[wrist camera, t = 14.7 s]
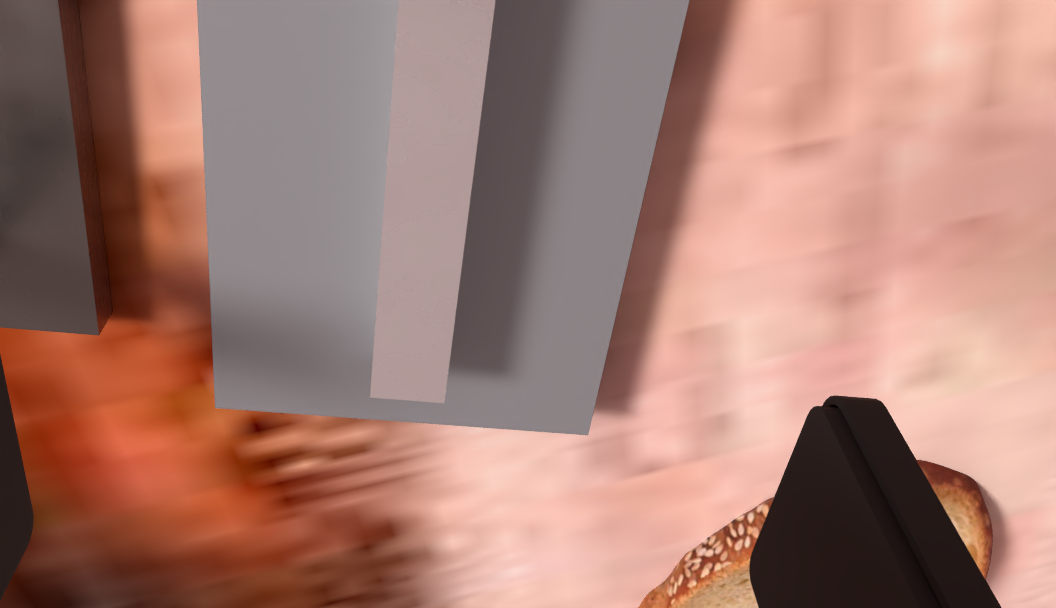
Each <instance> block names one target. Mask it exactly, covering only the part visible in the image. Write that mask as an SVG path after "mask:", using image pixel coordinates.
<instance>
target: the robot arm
mask: <svg viewBox="0 0 1056 608" xmlns="http://www.w3.org/2000/svg"><path fill="white" fill-rule="evenodd" d="M32 529H33V510H32V505H31V500H30V495H29V490H28V486H27V481H26V476H25V471H24V466H23V462H22V457H21V452H20V447H19V442H18V438H17V433H16V428H15V423H14V418H13V414H12V409H11V404H10V399H9V394H8V390H7V385H6V380H5V375H4V371H3V366H2V361H1V356H0V600H1V598H2V596H3V594H4V592H5V590H6V588H7V586H8V584H9V582H10V580H11V578H12V576H13V574H14V572H15V570H16V568H17V566H18V564H19V562H20V560H21V558H22V556H23V554H24V552H25V550H26V548H27V546H28V543H29V541H30V538H31V534H32ZM749 573H750V581H751V585H752V588H753V592H754V595H755V598H756V601H757V604H758V607H759V608H1001V606H1000V604H999V603H998V601H997V599H996V597H995V596H994V594H993V592H992V590H991V589H990V587H989V585H988V583H987V582H986V580H985V578H984V577H983V575H982V573H981V571H980V570H979V568H978V566H977V564H976V563H975V561H974V559H973V557H972V556H971V554H970V552H969V551H968V549H967V547H966V545H965V544H964V542H963V540H962V538H961V537H960V535H959V533H958V531H957V530H956V528H955V526H954V525H953V523H952V521H951V519H950V518H949V516H948V514H947V512H946V511H945V509H944V507H943V505H942V504H941V502H940V500H939V499H938V497H937V495H936V493H935V492H934V490H933V488H932V486H931V485H930V483H929V481H928V479H927V478H926V476H925V474H924V472H923V471H922V469H921V467H920V466H919V464H918V462H917V460H916V459H915V457H914V455H913V453H912V452H911V450H910V448H909V446H908V445H907V443H906V441H905V440H904V438H903V436H902V434H901V433H900V431H899V429H898V427H897V426H896V424H895V422H894V420H893V419H892V417H891V415H890V414H889V412H888V410H887V408H886V407H885V406H884V404H883V403H882V402H881V401H879V400H877V399H871V398H858V397H846V396H830V397H829V398H828V399H827V400H826V401H825V402H824V404H823V406H816V407H813V408H812V409H811V410H810V412H809V414H808V416H807V418H806V421H805V423H804V426H803V428H802V430H801V433H800V435H799V438H798V440H797V443H796V445H795V448H794V450H793V453H792V455H791V457H790V460H789V462H788V465H787V467H786V470H785V472H784V475H783V477H782V480H781V482H780V484H779V487H778V489H777V492H776V494H775V497H774V499H773V502H772V504H771V507H770V509H769V511H768V514H767V516H766V519H765V521H764V524H763V526H762V529H761V531H760V534H759V536H758V538H757V541H756V543H755V546H754V548H753V551H752V554H751V557H750V564H749Z"/></svg>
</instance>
